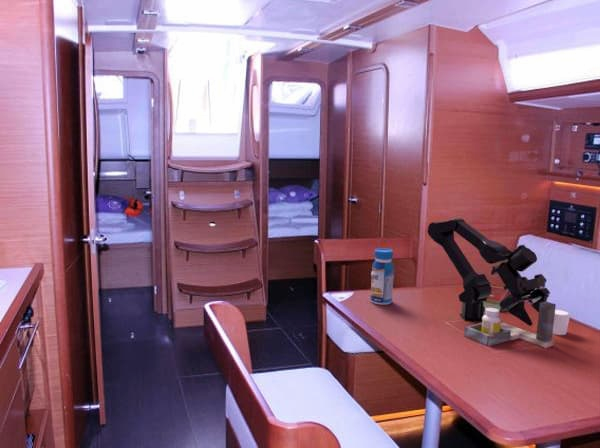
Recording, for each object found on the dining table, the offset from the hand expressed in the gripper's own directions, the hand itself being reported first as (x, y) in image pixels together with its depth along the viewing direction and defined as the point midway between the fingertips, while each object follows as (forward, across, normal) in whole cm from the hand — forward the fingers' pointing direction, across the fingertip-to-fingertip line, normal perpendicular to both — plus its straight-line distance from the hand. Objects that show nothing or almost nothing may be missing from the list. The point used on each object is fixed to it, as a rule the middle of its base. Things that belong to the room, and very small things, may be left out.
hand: (540, 322), depth 168 cm
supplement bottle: (-2, -11, +12) cm, 16 cm away
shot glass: (+3, +14, +7) cm, 16 cm away
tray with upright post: (0, -7, +9) cm, 11 cm away
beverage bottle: (-34, -15, +44) cm, 58 cm away
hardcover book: (-20, +22, +30) cm, 42 cm away
